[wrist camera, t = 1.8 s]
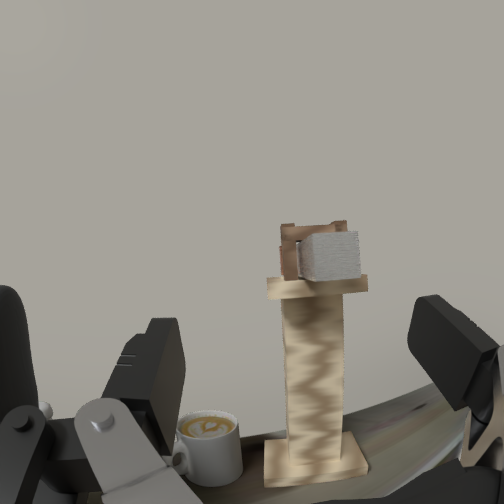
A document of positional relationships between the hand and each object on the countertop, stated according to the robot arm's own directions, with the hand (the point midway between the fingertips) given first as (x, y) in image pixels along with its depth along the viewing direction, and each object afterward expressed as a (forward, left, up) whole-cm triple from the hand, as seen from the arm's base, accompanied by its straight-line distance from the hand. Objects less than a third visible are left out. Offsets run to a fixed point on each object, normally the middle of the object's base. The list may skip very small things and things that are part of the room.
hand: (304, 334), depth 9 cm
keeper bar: (+5, +28, +1) cm, 29 cm away
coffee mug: (-13, +32, -32) cm, 47 cm away
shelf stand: (+5, +33, -32) cm, 46 cm away
